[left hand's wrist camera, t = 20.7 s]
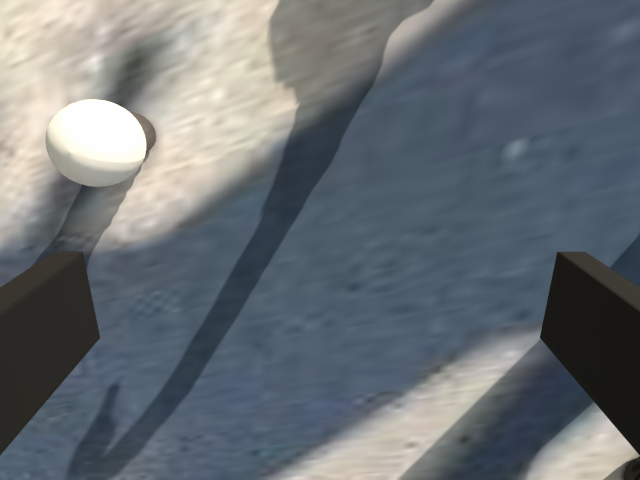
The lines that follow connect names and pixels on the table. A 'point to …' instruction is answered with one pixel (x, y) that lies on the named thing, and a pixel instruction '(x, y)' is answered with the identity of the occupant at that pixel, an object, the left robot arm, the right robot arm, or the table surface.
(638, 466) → the headphones
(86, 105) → the light bulb
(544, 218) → the table surface
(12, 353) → the left robot arm
